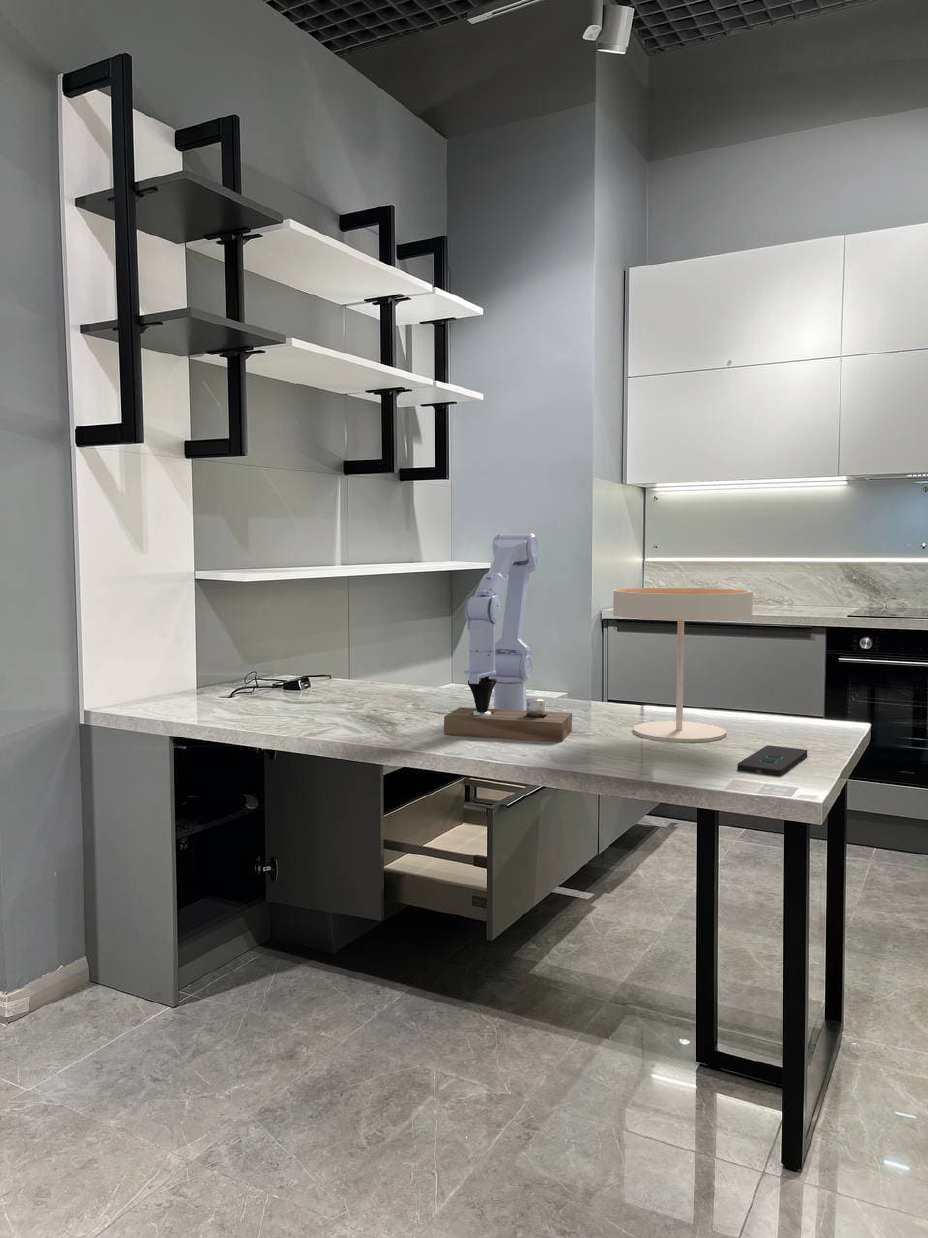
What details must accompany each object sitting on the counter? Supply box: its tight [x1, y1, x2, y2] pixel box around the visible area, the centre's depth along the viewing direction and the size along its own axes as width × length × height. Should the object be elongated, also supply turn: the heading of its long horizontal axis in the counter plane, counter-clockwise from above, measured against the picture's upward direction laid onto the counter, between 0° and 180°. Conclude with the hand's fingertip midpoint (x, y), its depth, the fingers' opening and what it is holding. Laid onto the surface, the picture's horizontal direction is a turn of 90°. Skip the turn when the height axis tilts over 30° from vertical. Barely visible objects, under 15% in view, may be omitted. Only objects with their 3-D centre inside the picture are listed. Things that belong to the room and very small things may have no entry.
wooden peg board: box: [443, 706, 573, 742], centre depth 207 cm, size 12×26×4 cm, turn 74°
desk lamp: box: [612, 587, 754, 743], centre depth 205 cm, size 30×30×31 cm
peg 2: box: [526, 697, 546, 718], centre depth 205 cm, size 4×4×4 cm
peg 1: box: [473, 711, 491, 716], centre depth 208 cm, size 4×4×4 cm
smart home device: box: [736, 744, 808, 777], centre depth 178 cm, size 8×2×20 cm
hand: (482, 711), depth 208 cm, fingers closed, pressing on peg 1
